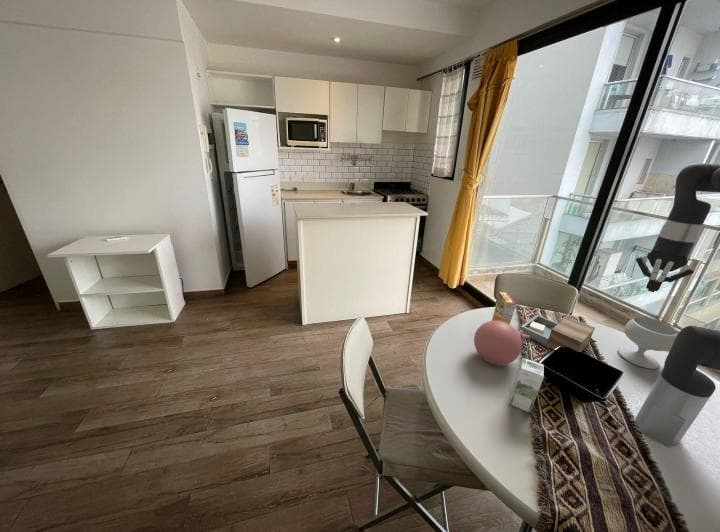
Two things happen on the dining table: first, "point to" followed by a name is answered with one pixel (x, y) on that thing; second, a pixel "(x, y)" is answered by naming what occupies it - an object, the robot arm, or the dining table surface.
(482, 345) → the pink egg-shaped ball
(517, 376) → the syrup box
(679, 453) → the dining table surface
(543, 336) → the box
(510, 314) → the candy box
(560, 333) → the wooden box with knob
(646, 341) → the chalice
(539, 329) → the tile
